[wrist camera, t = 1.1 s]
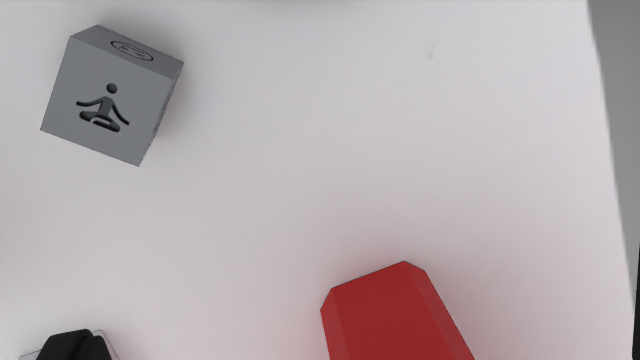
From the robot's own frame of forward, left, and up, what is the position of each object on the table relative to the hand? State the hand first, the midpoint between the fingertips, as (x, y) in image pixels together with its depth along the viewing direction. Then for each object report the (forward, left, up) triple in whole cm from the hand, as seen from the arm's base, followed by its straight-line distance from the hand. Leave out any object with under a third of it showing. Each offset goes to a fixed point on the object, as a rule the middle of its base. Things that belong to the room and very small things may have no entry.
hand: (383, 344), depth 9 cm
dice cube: (-9, 0, -25) cm, 27 cm away
